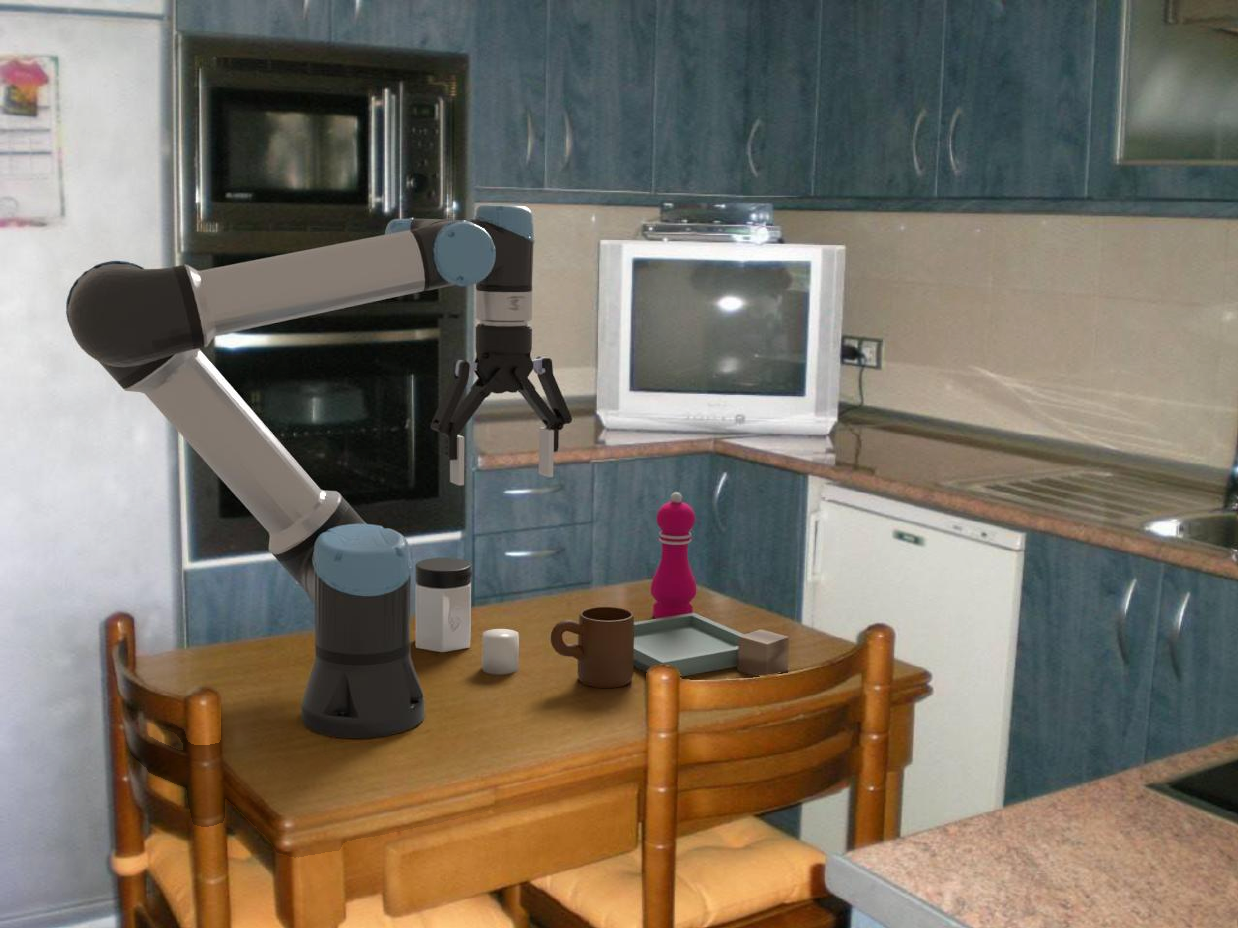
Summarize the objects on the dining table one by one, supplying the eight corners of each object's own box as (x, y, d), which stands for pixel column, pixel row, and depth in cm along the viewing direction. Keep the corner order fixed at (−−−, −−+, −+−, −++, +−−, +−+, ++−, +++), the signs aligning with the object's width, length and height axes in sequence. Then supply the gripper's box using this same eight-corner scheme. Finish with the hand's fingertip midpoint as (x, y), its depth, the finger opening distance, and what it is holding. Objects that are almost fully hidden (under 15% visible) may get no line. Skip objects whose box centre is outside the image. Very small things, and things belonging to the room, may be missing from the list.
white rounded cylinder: (492, 676, 197) (492, 641, 196) (475, 666, 201) (476, 631, 200) (524, 671, 199) (525, 636, 198) (507, 661, 203) (508, 626, 203)
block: (765, 678, 199) (767, 644, 198) (737, 670, 202) (738, 636, 201) (787, 671, 202) (789, 636, 201) (759, 662, 206) (760, 629, 205)
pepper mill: (657, 607, 232) (661, 486, 228) (700, 612, 230) (705, 490, 226) (644, 619, 225) (647, 494, 222) (688, 624, 223) (693, 498, 219)
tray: (662, 680, 197) (662, 662, 196) (593, 644, 212) (593, 628, 211) (765, 660, 206) (766, 643, 206) (693, 628, 221) (693, 612, 221)
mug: (562, 696, 189) (563, 627, 188) (538, 679, 196) (539, 612, 194) (642, 685, 195) (644, 617, 193) (617, 668, 201) (618, 603, 200)
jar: (428, 655, 205) (428, 574, 203) (403, 641, 211) (403, 561, 209) (484, 646, 210) (484, 566, 208) (457, 632, 216) (457, 554, 214)
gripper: (430, 327, 182) (430, 492, 186) (598, 323, 195) (595, 476, 199) (405, 322, 188) (406, 482, 192) (570, 318, 201) (567, 467, 205)
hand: (502, 479), depth 195 cm, fingers open, 13 cm apart
